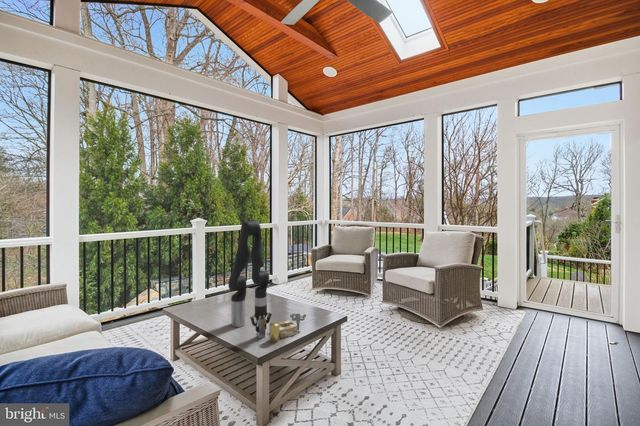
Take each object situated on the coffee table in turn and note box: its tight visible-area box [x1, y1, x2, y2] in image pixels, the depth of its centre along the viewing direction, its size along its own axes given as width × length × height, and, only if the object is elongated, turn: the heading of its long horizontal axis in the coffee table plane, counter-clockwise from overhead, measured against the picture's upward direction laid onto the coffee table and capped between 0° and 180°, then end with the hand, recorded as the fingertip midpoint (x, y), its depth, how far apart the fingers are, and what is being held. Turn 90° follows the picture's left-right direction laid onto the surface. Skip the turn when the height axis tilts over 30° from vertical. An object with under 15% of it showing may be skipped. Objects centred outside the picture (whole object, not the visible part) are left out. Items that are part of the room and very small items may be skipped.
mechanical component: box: [289, 313, 307, 331], centre depth 209 cm, size 3×10×10 cm, turn 94°
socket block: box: [278, 319, 298, 340], centre depth 203 cm, size 12×12×5 cm
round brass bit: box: [269, 321, 281, 343], centre depth 193 cm, size 6×6×10 cm
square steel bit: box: [256, 318, 266, 340], centre depth 197 cm, size 4×4×12 cm
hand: (260, 330), depth 197 cm, fingers closed on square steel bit, 4 cm apart
